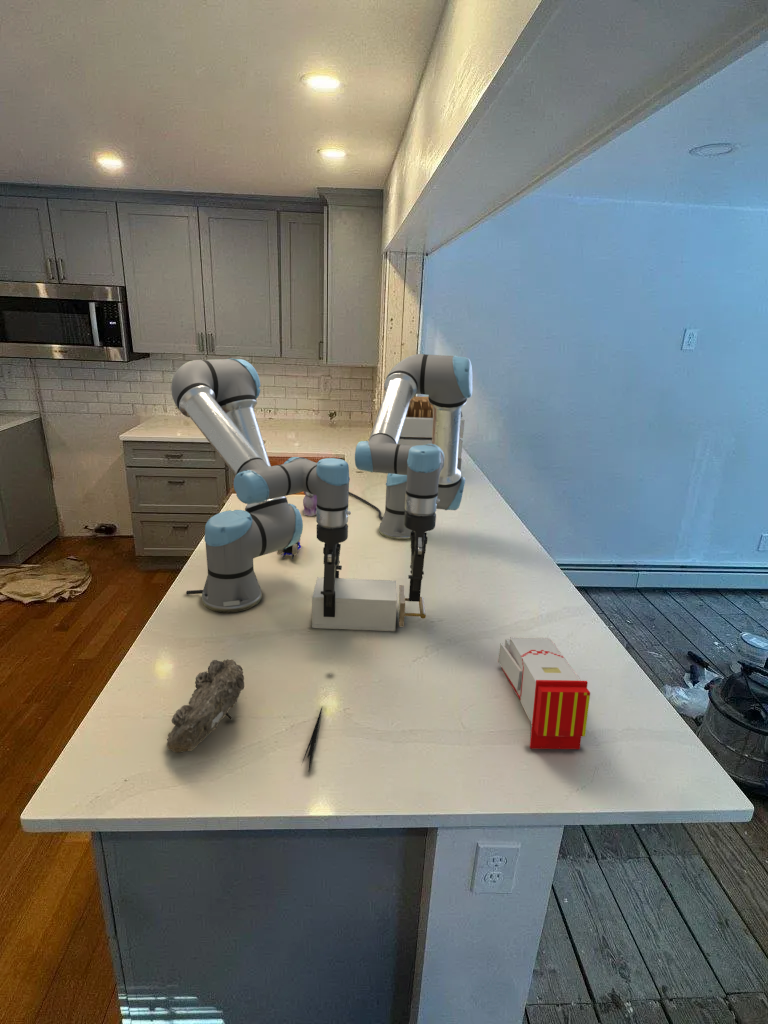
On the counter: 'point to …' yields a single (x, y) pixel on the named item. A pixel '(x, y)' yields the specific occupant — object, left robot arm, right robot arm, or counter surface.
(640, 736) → the counter surface
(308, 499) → the figurine
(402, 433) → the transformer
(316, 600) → the cabinet
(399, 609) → the drawer
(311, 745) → the feather
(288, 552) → the figurine character
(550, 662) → the toy
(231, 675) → the fossil
